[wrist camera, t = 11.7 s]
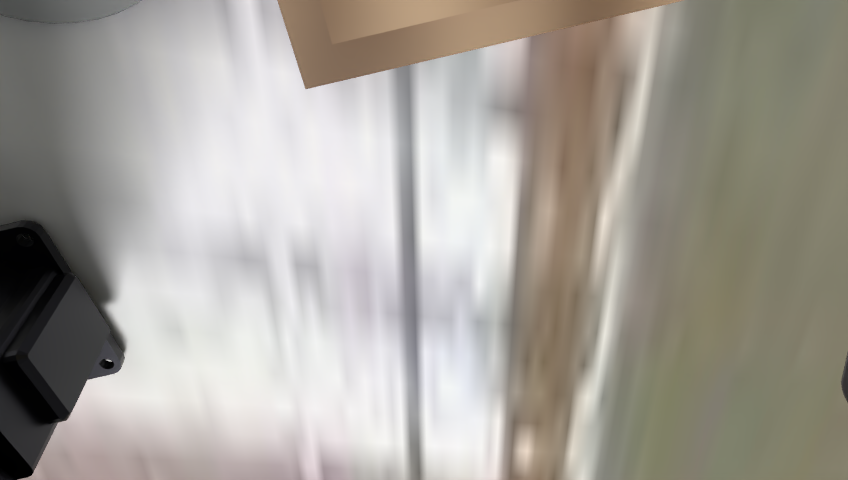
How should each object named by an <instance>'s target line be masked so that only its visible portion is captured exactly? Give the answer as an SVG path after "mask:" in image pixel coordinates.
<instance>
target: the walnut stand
mask: <svg viewBox="0 0 848 480" xmlns="http://www.w3.org/2000/svg"><path fill="white" fill-rule="evenodd" d="M679 1H683V0H278V4H279V7H280V10H281V13H282V16H283V19H284V23H285V26H286V29H287V32H288V35H289V38H290V41H291V45H292V48H293V51H294V54H295V57H296V60H297V63H298V67H299V70H300V73H301V76H302V79H303V82H304V86H305V89H308V88H313V87H317V86H321V85H325V84H330V83H334V82H338V81H343V80H347V79H351V78H355V77H360V76H364V75H368V74H372V73H377V72H381V71H385V70H389V69H394V68H398V67H402V66H406V65H411V64H415V63H419V62H423V61H428V60H432V59H436V58H440V57H445V56H449V55H453V54H458V53H462V52H466V51H470V50H475V49H479V48H483V47H487V46H492V45H496V44H500V43H504V42H509V41H513V40H517V39H521V38H526V37H530V36H534V35H538V34H543V33H547V32H551V31H555V30H560V29H564V28H568V27H573V26H577V25H581V24H585V23H590V22H594V21H598V20H602V19H607V18H611V17H615V16H619V15H624V14H628V13H632V12H636V11H641V10H645V9H649V8H653V7H658V6H662V5H666V4H670V3H675V2H679Z"/></svg>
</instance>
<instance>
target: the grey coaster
mask: <svg viewBox="0 0 848 480" xmlns="http://www.w3.org/2000/svg"><path fill="white" fill-rule="evenodd" d="M140 1H142V0H0V15H3V16H7V17H12V18H17V19H21V20H26V21H33V22H43V23H78V22H84V21H90V20H96V19H100V18H103V17H106V16H109V15H113V14H116V13H119V12H121V11H123V10H125V9H127V8H129V7H131V6H133V5H135V4H137V3H139V2H140Z"/></svg>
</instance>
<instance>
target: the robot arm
mask: <svg viewBox="0 0 848 480" xmlns="http://www.w3.org/2000/svg"><path fill="white" fill-rule="evenodd" d="M22 234H27V235H30V236H31V237H32V238H33V240H28V239H26V238H25V237H23V236H22ZM124 358H125V357H124V354H123V352H122V351H121V349H120V348H119V346H118V344H117V343H116V341H115V340H114V338H113V336H112V335H111V333H110V328H109V326H108V325H107V323H106V322H105V320H104V318H103V317H102V315H101V314H100V312H99V311H98V309H97V307H96V306H95V304H94V303H93V301H92V299H91V298H90V296H89V295H88V293H87V291H86V290H85V288H84V287H83V285H82V284H81V282H80V280H79V279H78V278H77V277H76V276H75V275H74V274H73V273H72V272H71V270H70V269H69V267H68V265H67V264H66V262H65V261H64V259H63V258H62V256H61V254H60V253H59V251H58V250H57V248H56V247H55V245H54V243H53V242H52V240H51V239H50V237H49V235H48V234H47V232H46V231H45V229H44V228H43V227H42V226H41V225H39V224H37V223H36V222H32V221H19V222H15V223H10V224H6V225H2V226H0V480H17V479H22V478H26V477H29V476H31V475H32V474H33V472H34V470H35V468H36V466H37V464H38V462H39V460H40V458H41V456H42V454H43V452H44V450H45V448H46V446H47V444H48V442H49V440H50V438H51V436H52V434H53V431H54V429H55V427H56V425H57V423H58V422H62V421H66V420H67V419H68V418H69V416H70V414H71V412H72V410H73V408H74V406H75V404H76V402H77V400H78V398H79V396H80V394H81V392H82V389H83V387H84V385H85V383H86V381H87V380H88V379H92V378H97V377H101V376H106V375H110V374H114V373H116V372H118V371H119V370H120V369H121V367H122V365H123V362H124ZM105 359H109V360H111V361H113V362H109V361H106V360H105ZM841 384H842V390H843V394H844V396H845V398H846V400H847V402H848V353H847V358H846V362H845V367H844V371H843V375H842V381H841Z"/></svg>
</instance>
